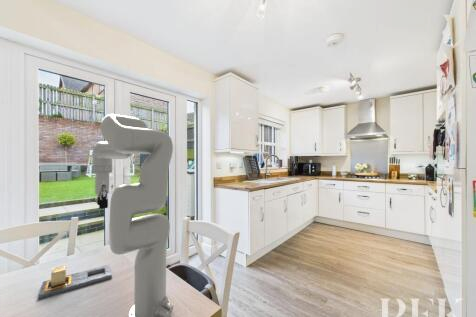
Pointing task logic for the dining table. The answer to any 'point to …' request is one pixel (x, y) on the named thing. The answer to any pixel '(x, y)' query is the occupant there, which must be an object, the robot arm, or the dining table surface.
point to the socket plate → (76, 281)
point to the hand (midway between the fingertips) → (102, 206)
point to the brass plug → (58, 276)
